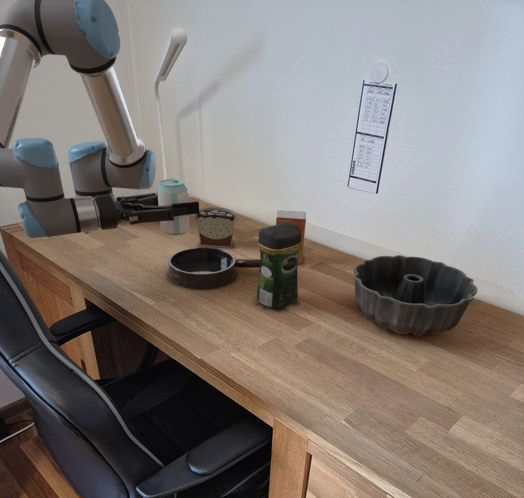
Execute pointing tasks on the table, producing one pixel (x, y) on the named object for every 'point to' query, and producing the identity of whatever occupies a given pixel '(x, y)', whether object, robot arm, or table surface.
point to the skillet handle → (247, 263)
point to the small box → (296, 219)
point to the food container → (216, 227)
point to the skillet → (202, 267)
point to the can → (173, 194)
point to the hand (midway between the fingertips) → (192, 202)
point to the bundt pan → (412, 294)
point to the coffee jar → (278, 265)
